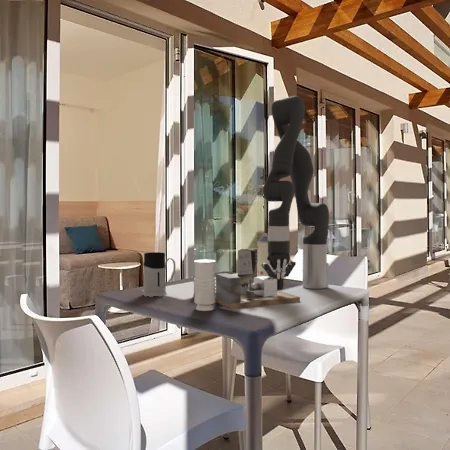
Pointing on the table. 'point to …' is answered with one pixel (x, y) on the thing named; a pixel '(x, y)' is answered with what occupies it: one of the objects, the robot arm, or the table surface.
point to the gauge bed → (232, 298)
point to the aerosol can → (262, 255)
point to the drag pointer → (250, 293)
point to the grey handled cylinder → (155, 274)
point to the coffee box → (247, 267)
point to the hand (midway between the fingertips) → (278, 289)
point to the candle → (204, 284)
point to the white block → (264, 286)
